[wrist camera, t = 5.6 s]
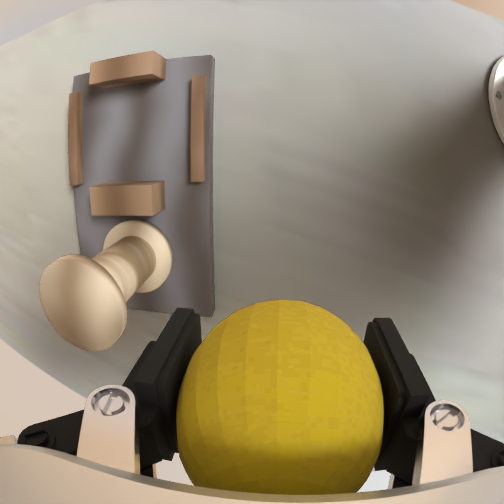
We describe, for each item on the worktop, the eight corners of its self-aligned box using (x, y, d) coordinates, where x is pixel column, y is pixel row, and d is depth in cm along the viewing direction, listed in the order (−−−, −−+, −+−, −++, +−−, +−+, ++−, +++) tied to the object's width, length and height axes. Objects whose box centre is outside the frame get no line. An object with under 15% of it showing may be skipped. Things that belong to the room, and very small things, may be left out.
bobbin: (171, 219, 28) (112, 262, 18) (175, 291, 30) (129, 358, 20) (104, 218, 29) (31, 256, 18) (112, 285, 31) (52, 342, 21)
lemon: (264, 401, 13) (247, 569, 6) (181, 311, 12) (85, 487, 5) (378, 342, 12) (440, 520, 4) (304, 230, 11) (346, 417, 3)
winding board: (214, 59, 25) (202, 45, 20) (214, 309, 32) (205, 333, 28) (82, 78, 26) (56, 72, 22) (95, 297, 34) (75, 315, 29)
